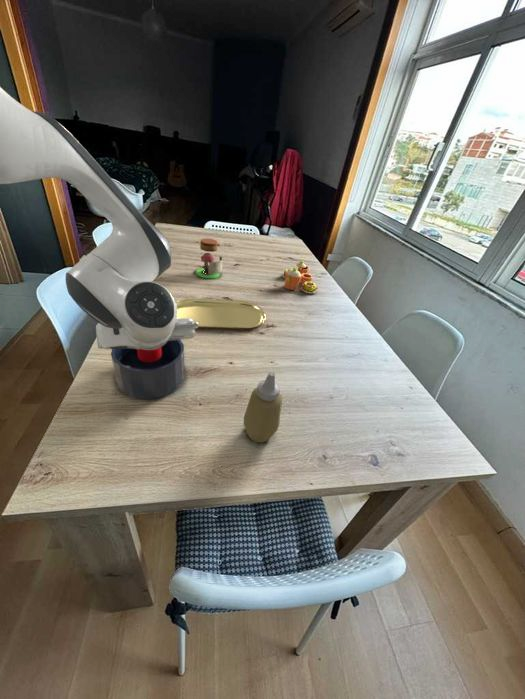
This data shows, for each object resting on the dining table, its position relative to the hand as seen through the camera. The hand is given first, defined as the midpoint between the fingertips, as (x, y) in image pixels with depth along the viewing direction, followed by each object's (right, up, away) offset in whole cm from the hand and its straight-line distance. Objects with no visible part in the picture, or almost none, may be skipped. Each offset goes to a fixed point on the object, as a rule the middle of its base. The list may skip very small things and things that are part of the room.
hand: (147, 339), depth 71 cm
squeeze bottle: (+27, -22, -3) cm, 35 cm away
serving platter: (+12, +10, +35) cm, 38 cm away
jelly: (0, -4, +2) cm, 4 cm away
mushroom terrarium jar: (+3, +32, +64) cm, 71 cm away
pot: (-1, -9, +6) cm, 11 cm away
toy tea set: (+45, +30, +71) cm, 89 cm away
